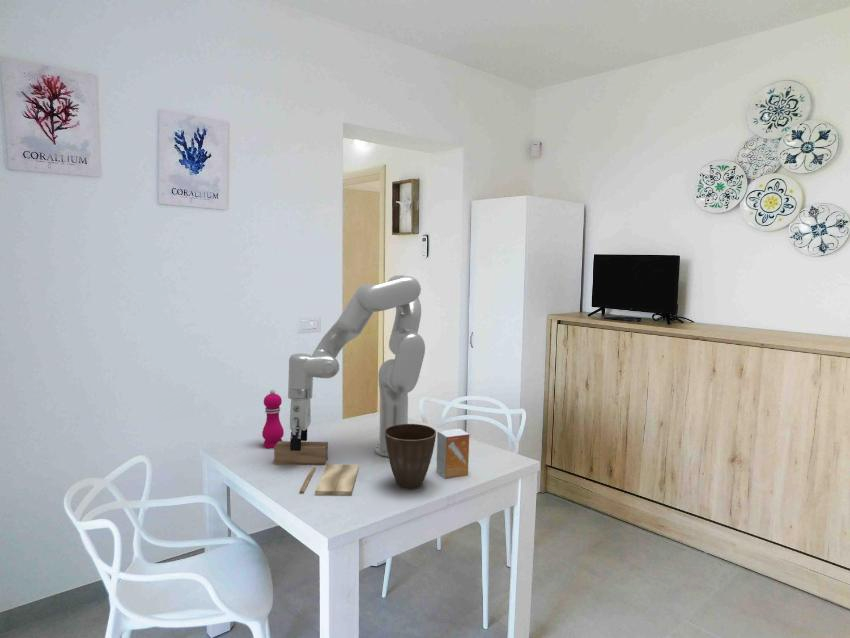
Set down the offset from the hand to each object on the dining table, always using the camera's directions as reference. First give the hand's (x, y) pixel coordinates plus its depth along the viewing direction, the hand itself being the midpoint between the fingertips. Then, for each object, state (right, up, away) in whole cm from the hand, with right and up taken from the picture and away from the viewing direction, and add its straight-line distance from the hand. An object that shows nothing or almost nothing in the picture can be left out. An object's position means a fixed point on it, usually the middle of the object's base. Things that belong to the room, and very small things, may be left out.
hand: (298, 445), depth 176 cm
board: (+13, -7, -14) cm, 20 cm away
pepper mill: (-13, -4, +16) cm, 20 cm away
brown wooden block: (+1, -6, +1) cm, 6 cm away
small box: (+49, -7, -6) cm, 50 cm away
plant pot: (+36, -8, -15) cm, 40 cm away
